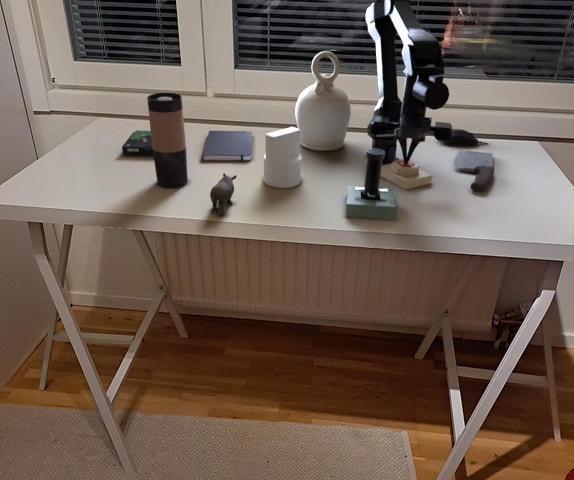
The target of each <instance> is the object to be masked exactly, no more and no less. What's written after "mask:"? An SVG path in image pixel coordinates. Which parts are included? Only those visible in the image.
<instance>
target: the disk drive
mask: <svg viewBox="0 0 574 480" xmlns="http://www.w3.org/2000/svg"><path fill="white" fill-rule="evenodd" d="M121 150H122V156H130V157H132V156H133V157H154V155H153V148H152V139H151V130H139V129H137V130H135V131H133V132H132V133H131V134H130V136H129V137H128V138H127V140H126V141H125V142H124V143H123V144H122V146H121Z"/></svg>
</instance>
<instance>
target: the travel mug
mask: <svg viewBox="0 0 574 480" xmlns="http://www.w3.org/2000/svg"><path fill="white" fill-rule="evenodd" d="M146 100H147V108H148V110H147V111H148V119H149V128H150V131H151V139H152V148H153V155H154V156H153V161H154V168H155V175H156V181H157V185H158V186H159V187H162V188H166V189H178V188H181V187H184V186H186V185H187V184H188V182H189V181H188V180H189V179H188V178H189V177H188V159H187V156H188V155H187V143H186V141H187V140H186V131H185V119H184V108H183V107H184V106H183V97H182V95H180V94H179V93H174V92H156V93H152V94H150V95H148V96H147V98H146Z"/></svg>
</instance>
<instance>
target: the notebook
mask: <svg viewBox="0 0 574 480" xmlns="http://www.w3.org/2000/svg"><path fill="white" fill-rule="evenodd" d="M252 153H253V131H251V130H208V134H207V137H206V141H205V145H204V149H203V151H202V161H206V162H207V161H208V162H209V161H210V162H213V161H216V162H250V161H252Z"/></svg>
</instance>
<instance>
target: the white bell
mask: <svg viewBox="0 0 574 480" xmlns="http://www.w3.org/2000/svg"><path fill="white" fill-rule="evenodd" d="M323 58H328V59H330V60H331V62H332V63H333V73H332V74H331V73H323V74H321V73H320V72H319V70H318V64H319V62H320V60H321V59H323ZM340 70H341V64H340V60H339V58H338V57H337V56H336V54H334V53H333V52H332V51H330V50H322V51H319V52H318V53H317V54H316V55H315V56H314V57H313V59H312V62H311V73H312V75H313V77H314V78H315V79H316V80H315V83H313V84H311V85H309V86H308V87H307V88H305V89H304V90H303V91H302V92H301V93H300V95H299V97H298V98H297V101H296V104H295V120H296V128H298V129H300V146H302V147H304V148H306V149H308V150H312V151H319V152H327V151H328V152H330V151H335V150H339V149H340V148H341V149H342V147H343V145H344V142H345V139H346V136H347V132H348V129H349V123H350V120H351V116H352V115H351V113H352V112H351V111H352V110H351V102H350V100H349V96H348V95H347V93H345V92H344V90H343V89H342V88H340V87H339V86H337V85H335V84H334V82H335V80H336V79H337V78H338V76H339V75H340Z"/></svg>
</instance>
